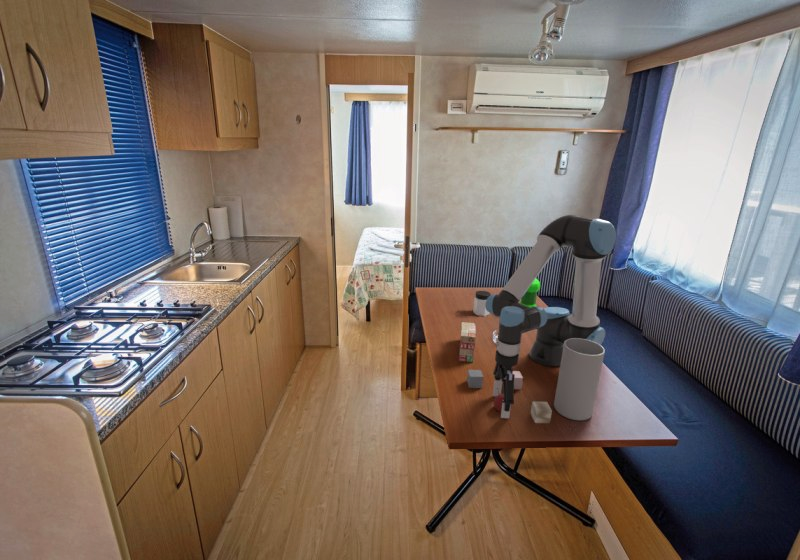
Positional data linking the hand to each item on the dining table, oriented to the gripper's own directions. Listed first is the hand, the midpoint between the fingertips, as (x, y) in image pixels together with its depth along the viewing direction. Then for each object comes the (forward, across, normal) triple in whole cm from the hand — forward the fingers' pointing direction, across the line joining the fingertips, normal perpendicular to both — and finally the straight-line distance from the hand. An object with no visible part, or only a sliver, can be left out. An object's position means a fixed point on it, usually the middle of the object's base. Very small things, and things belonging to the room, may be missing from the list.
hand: (500, 406), depth 145 cm
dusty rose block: (0, -14, +8) cm, 16 cm away
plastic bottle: (0, -89, +35) cm, 96 cm away
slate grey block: (0, -14, -7) cm, 16 cm away
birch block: (0, +6, +12) cm, 14 cm away
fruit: (0, 0, 0) cm, 0 cm away
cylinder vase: (0, +1, +25) cm, 25 cm away
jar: (0, -87, +9) cm, 87 cm away
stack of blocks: (0, -42, -6) cm, 43 cm away
